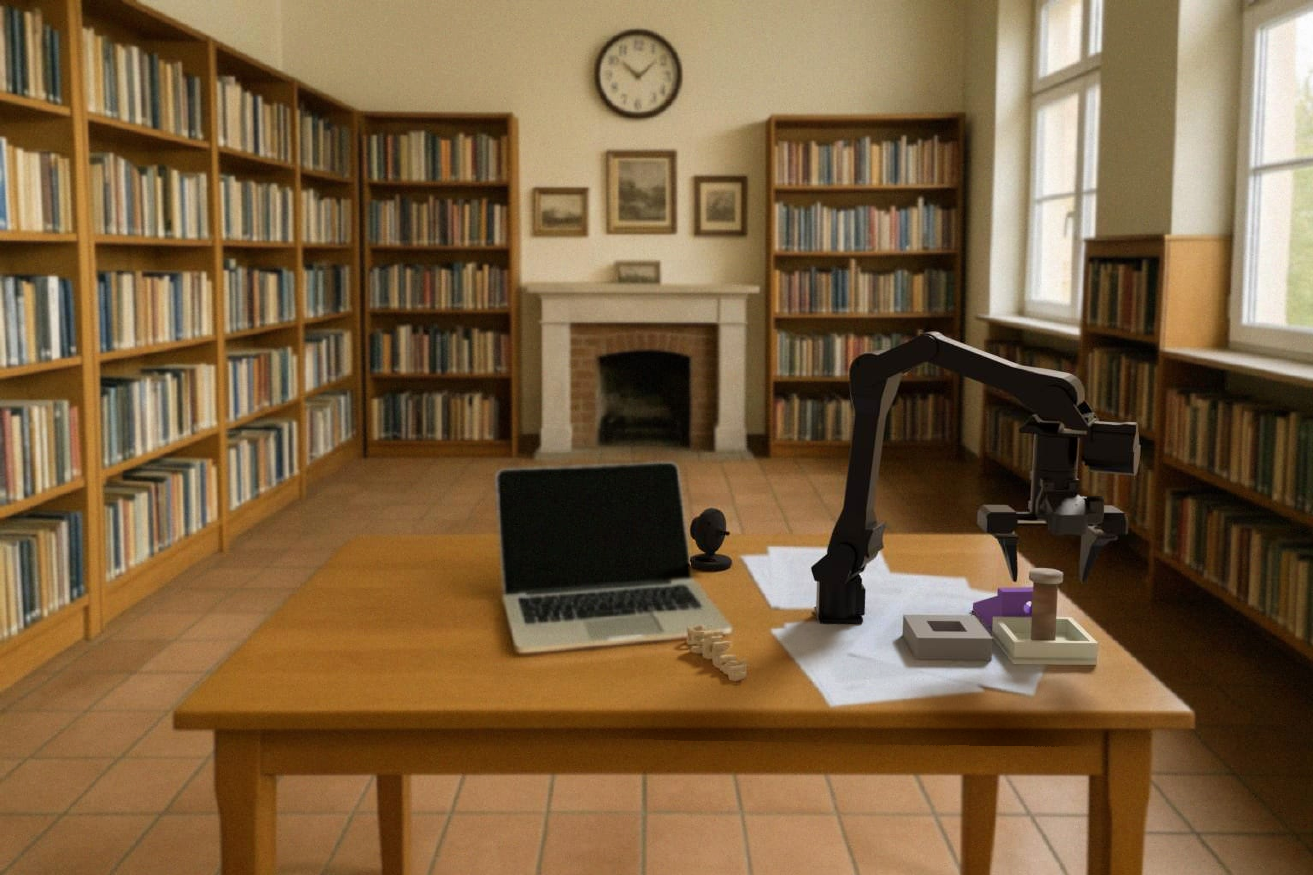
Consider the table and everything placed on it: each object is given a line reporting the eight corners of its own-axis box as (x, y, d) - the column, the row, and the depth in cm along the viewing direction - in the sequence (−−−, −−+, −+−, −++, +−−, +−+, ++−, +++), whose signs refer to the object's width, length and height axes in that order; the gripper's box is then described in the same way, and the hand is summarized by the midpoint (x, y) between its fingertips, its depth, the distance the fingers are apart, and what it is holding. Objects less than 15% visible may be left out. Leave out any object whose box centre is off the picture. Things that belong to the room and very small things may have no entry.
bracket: (1047, 637, 174) (1050, 591, 173) (1000, 638, 174) (1002, 591, 172) (1016, 611, 186) (1019, 568, 185) (972, 612, 185) (974, 568, 184)
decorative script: (678, 643, 170) (678, 620, 170) (702, 640, 172) (703, 616, 171) (735, 686, 155) (735, 660, 154) (761, 682, 156) (762, 656, 156)
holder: (916, 659, 164) (917, 637, 163) (902, 635, 174) (903, 614, 173) (991, 659, 164) (992, 638, 163) (973, 635, 174) (974, 615, 173)
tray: (1013, 663, 162) (1014, 642, 162) (991, 636, 173) (992, 616, 173) (1096, 664, 162) (1098, 643, 162) (1069, 637, 173) (1071, 617, 173)
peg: (1031, 648, 165) (1034, 577, 164) (1022, 638, 170) (1025, 568, 168) (1064, 648, 165) (1067, 576, 164) (1054, 638, 170) (1057, 568, 168)
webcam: (704, 557, 215) (705, 501, 213) (740, 564, 210) (741, 507, 209) (679, 566, 209) (679, 509, 207) (716, 574, 204) (716, 515, 203)
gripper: (1000, 479, 156) (994, 598, 158) (1148, 480, 155) (1140, 599, 158) (978, 463, 167) (973, 574, 169) (1116, 464, 166) (1109, 575, 169)
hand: (1048, 581), depth 166 cm, fingers open, 9 cm apart
